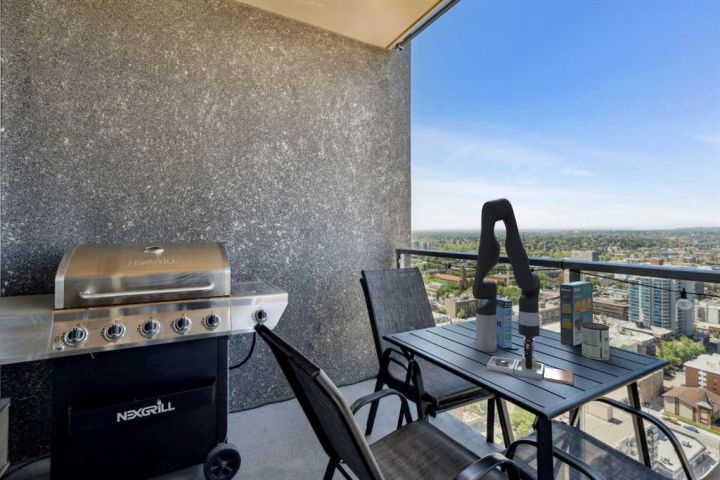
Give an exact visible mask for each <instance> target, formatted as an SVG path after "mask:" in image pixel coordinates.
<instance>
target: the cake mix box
mask: <svg viewBox="0 0 720 480" xmlns="http://www.w3.org/2000/svg"><path fill="white" fill-rule="evenodd" d="M593 284H594V283H593V281H582V280H580V281H572V282H565V283H560V284H559V309H560V310H559V315H560V318H559V319H560V320H559V321H560V322H559V323H560V325H559V328H560V344H562V345H568V346H572V347H574V346H577V345H580V344H582V326H581V323H586V322H590V323H594V305H593V304H594V301H593V300H594V299H593V298H594V297H593V296H594V294H593V293H594V291H593V290H594V289H593Z"/></svg>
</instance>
